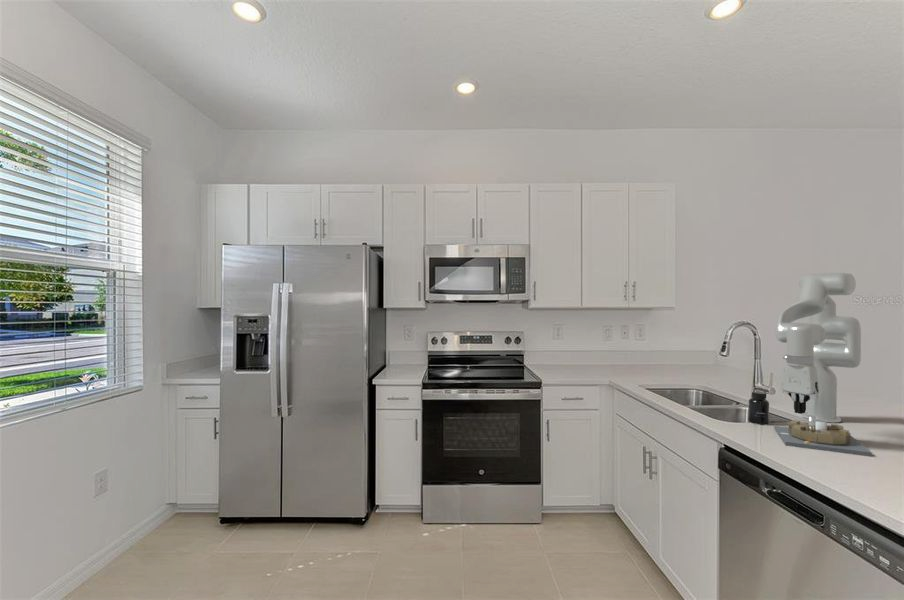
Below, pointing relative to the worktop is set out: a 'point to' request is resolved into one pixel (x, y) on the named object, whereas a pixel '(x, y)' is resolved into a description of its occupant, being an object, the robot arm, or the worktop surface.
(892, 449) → the worktop surface
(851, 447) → the nut base
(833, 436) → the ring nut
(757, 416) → the supplement bottle
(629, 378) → the worktop surface
